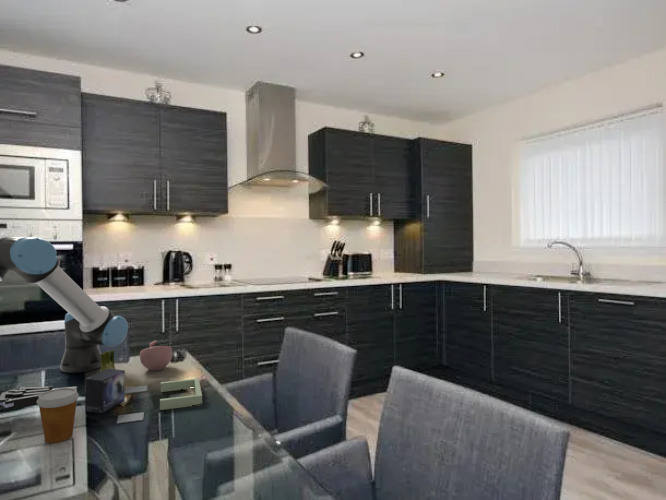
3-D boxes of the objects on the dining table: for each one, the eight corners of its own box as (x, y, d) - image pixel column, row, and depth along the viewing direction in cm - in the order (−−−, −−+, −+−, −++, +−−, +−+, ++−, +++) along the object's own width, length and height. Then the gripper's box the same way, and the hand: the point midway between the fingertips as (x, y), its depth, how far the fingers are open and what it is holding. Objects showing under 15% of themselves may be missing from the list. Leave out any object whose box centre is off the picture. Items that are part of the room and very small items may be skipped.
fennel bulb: (113, 380, 162) (113, 348, 161) (118, 384, 158) (118, 351, 158) (96, 384, 158) (96, 351, 157) (101, 388, 154) (100, 354, 154)
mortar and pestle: (169, 363, 183) (168, 336, 183) (175, 371, 173) (175, 342, 173) (137, 368, 177) (137, 339, 176) (142, 376, 167) (142, 346, 166)
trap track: (125, 388, 154) (125, 380, 154) (197, 380, 162) (197, 372, 162) (116, 424, 126) (116, 413, 126) (203, 412, 134) (203, 402, 134)
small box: (103, 414, 133) (102, 380, 132) (84, 412, 134) (83, 378, 133) (126, 401, 143) (125, 369, 142) (108, 399, 144) (108, 367, 144)
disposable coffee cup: (87, 432, 120) (87, 389, 120) (55, 449, 111) (54, 402, 111) (61, 427, 123) (61, 385, 123) (28, 442, 114) (27, 397, 114)
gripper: (-9, 405, 133) (80, 396, 141) (-27, 423, 121) (72, 411, 129) (-9, 381, 132) (80, 372, 141) (-27, 396, 120) (71, 386, 128)
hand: (76, 391), depth 135 cm, fingers closed
